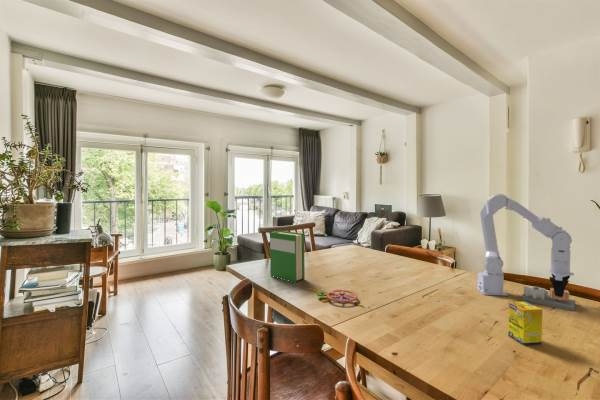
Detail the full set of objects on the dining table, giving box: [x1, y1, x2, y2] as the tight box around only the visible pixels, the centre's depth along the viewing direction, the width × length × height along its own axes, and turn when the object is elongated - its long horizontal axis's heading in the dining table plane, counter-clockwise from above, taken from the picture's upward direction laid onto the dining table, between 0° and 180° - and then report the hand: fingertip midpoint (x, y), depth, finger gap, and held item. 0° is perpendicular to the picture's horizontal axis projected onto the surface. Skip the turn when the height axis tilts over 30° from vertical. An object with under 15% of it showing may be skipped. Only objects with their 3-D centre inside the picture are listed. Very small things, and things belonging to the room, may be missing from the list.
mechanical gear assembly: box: [307, 287, 365, 308], centre depth 127 cm, size 30×4×15 cm
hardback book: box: [269, 230, 306, 283], centre depth 154 cm, size 18×7×24 cm, turn 50°
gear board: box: [521, 285, 577, 312], centre depth 119 cm, size 16×10×5 cm, turn 45°
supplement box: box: [507, 301, 543, 346], centre depth 90 cm, size 6×6×11 cm
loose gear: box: [549, 287, 570, 300], centre depth 117 cm, size 6×6×3 cm
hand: (559, 294), depth 117 cm, fingers closed on loose gear, 6 cm apart
